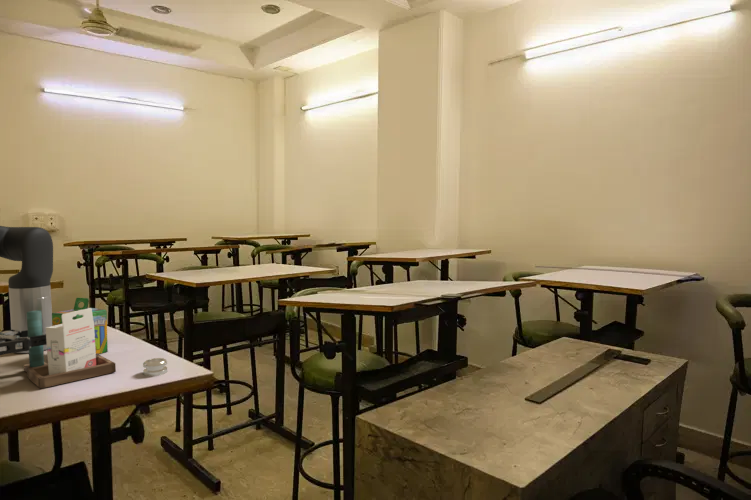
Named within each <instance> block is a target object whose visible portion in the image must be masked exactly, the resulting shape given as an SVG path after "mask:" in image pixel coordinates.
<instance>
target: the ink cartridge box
mask: <svg viewBox="0 0 751 500" xmlns="http://www.w3.org/2000/svg"><path fill="white" fill-rule="evenodd" d="M91 308H92V307H88V309H83V310H78V311H74V312H70V313H66V314H62V316H61V318H62V324H59V325H55V326H51V327H46V341H47V350H46V352H47V353H46V355H47V364H48V371H49V375H53V374H57V373H62V372H68V371H72V370H77V369H82V368H86V367H91V366H96V350H95V333H94V321H93V315H92V309H91ZM76 315H83V317H82V318H79V319H75V320H73V319H72V318H73V317H75V316H76Z"/></svg>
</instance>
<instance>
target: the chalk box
mask: <svg viewBox="0 0 751 500" xmlns="http://www.w3.org/2000/svg"><path fill="white" fill-rule="evenodd" d="M74 302H75V303H74V305H73V309H69V310H62V311H61V310H60V311H55V312H52V326H55V325H59V324H62V318H61V316H62V314H66V313H70V312H74V311H78V310H83V309H88V308H89V303H90V298H88V297H76V298H75V301H74ZM80 303H83V306H82V307H80V305H79V304H80ZM90 308H91V309H92V315H93V321H94V333H95V350H96V355H101V354H105V353H108V352H109V350H108V345H109V344H108V311H107V310H106V309H103V308H95V307H90ZM82 317H83V315H76V316H75V317H73V318H72V319H73V320H75V319H79V318H82Z"/></svg>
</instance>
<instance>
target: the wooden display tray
mask: <svg viewBox="0 0 751 500" xmlns="http://www.w3.org/2000/svg"><path fill="white" fill-rule="evenodd" d="M27 329H28V337H32V336H38V335H43V331H42V313H41V311H29V312H27ZM44 351H45V350H43V345H41V346H35V347H31V348H29V353H28V362H29V363H26V364H23V371H25V372H26V374H27V379H28V380H30V381H31V382H32V383H33V384H34V385H36V386H37V387H38V388H39V389H46V388H50V387H55V386H58V385H62V384H63V385H64V384H67V383H73V382H76V381H81V380H85V379H89V378H93V377H94V378H95V377H100V376H103V375H107V374H112V373H116V372H117V370H116V362H114V361H112V360H110V359H108V358H107V357H104V356H102V355H101V354H97V355H96V366H91V367H86V368H82V369H77V370H72V371H68V372H62V373H57V374H53V375H49V371H48V362H45V352H44Z"/></svg>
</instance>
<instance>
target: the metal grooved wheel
mask: <svg viewBox="0 0 751 500" xmlns="http://www.w3.org/2000/svg"><path fill="white" fill-rule="evenodd" d="M167 364H168V361H167V359H166V358H164V357H155V358H150V359H146V360H145V361H144V362H143V363H142V366H143V368H144V369H143V370H142V371H143V373H142V374H143V376H144V377H159V376H161V375H165V374H167V373H168V367H167Z"/></svg>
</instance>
